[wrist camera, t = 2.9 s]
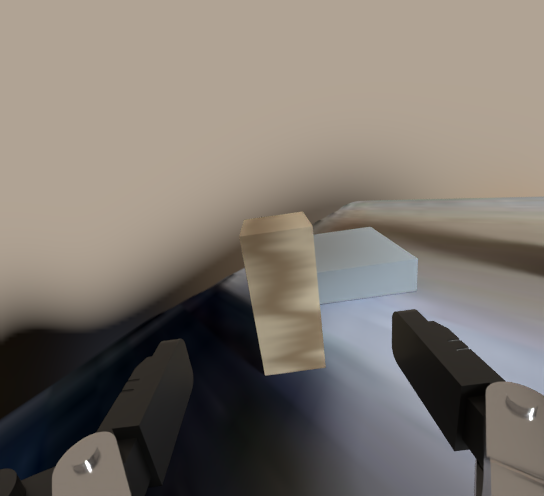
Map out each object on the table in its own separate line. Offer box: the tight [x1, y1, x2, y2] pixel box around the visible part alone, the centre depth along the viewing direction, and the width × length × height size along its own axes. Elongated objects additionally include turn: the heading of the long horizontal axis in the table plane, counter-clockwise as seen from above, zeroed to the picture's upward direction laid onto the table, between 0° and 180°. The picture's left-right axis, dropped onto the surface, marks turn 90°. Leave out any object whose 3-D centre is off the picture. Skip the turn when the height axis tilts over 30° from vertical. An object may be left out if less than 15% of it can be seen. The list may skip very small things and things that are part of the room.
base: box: [313, 227, 418, 304], centre depth 37 cm, size 14×14×4 cm
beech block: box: [239, 212, 326, 375], centre depth 23 cm, size 5×5×12 cm
